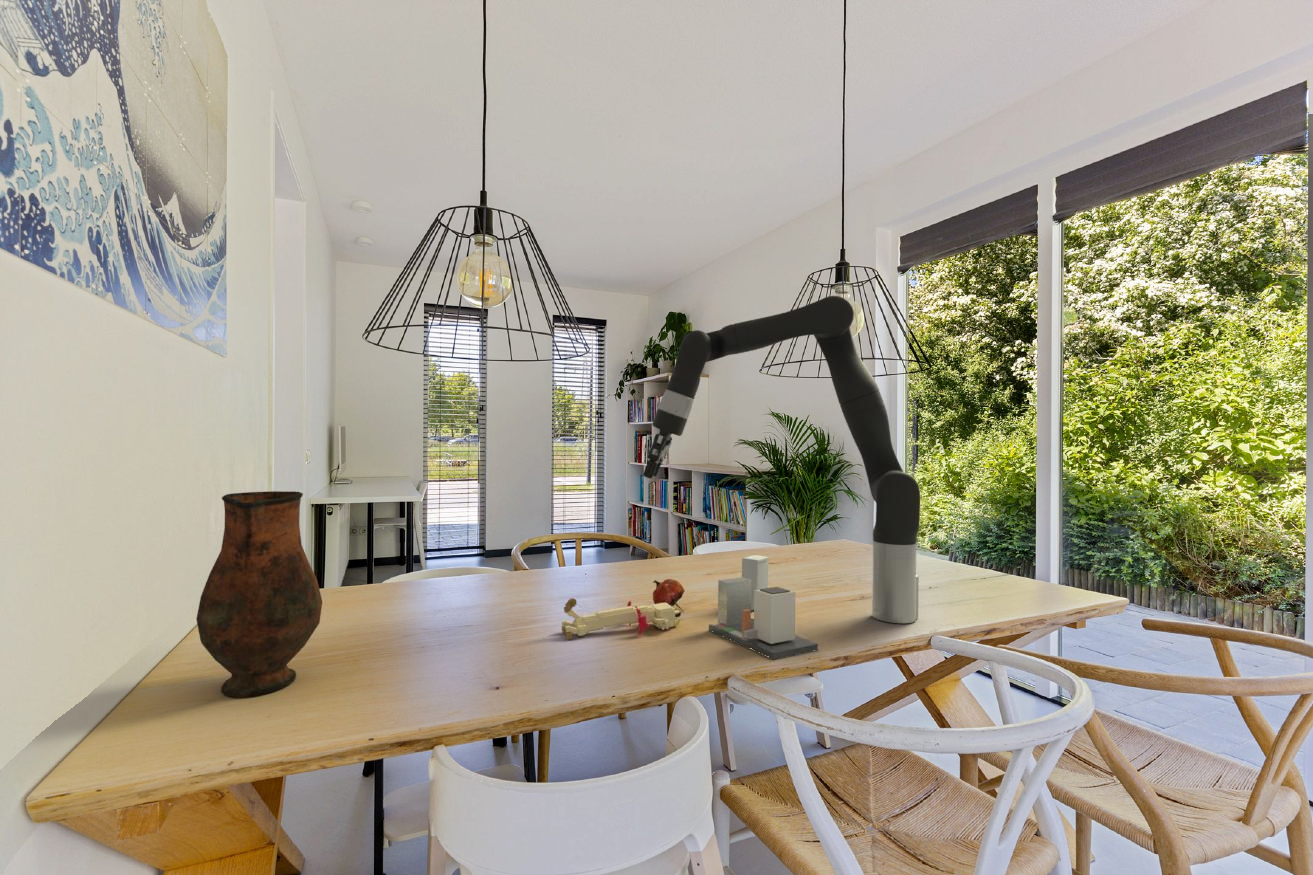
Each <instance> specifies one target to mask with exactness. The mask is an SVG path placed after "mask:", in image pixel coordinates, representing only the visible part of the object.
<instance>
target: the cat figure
mask: <svg viewBox="0 0 1313 875" xmlns="http://www.w3.org/2000/svg"><path fill="white" fill-rule="evenodd" d="M564 604H565V606H564V607H563V613H565V614H566V615H568V616H569V617H572V618H573V620H572V621H573V622H571V621H568V620H562V621H561V632H562V634H563V635H565V638H566V640H567V639H571V640H572V639H573V635H577V636H579V637H581V636H585V635H587V634H590V632H595V631H600V630H601V631H603V630H604V628H611V627H614V626H620V625H627V624H628V626H629V625H630V626H632V625H635V624H638V628H639V629H638V633H639V634H638V635H642V633H644V630H645V629H648V628H649V623H652V624H653V625H655V627H656V628H658V629H659V630H660V629H661V630H662V631H663V630H665V629H666V630H669V628H672V627H674V626H677V625H680V622H681V621H684V620H683V619H684V618H682V617H681V616H682V615H681V614H682V613H681V612H682V611H679V610H677V609H676V608H675V607H674V606H670V605H669V604H667V603H659V604H655V603H653V604H651V605H646V604H644V605H637V606H632V601H631V600H629V601H628V602H627V605H626V606H623V607H618V608H612V609H611V608H610V609H606V610H605V609H604V610H599V611H596V612H595V613H588V614H584V615H581V614H578V613H577V612H576V611H574V609H573V608H574V607H576V605H578V604H577V599H575V597H571V598H569V600H567V602H566V603H564Z"/></svg>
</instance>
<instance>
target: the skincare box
mask: <svg viewBox="0 0 1313 875" xmlns="http://www.w3.org/2000/svg"><path fill="white" fill-rule="evenodd" d="M769 558H770V557H769V556H764V555H757V554H756V555H755V554H754V555H750V556H749V555H748V556H746V557H742V559H741V577H743V578H746V579H750V580H751V611H753V610H754V590H759V589H765V588H769V571H770V569H769V568H770V566H769V564H770V563H769V562H770V560H769Z"/></svg>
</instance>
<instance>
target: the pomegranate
mask: <svg viewBox="0 0 1313 875" xmlns="http://www.w3.org/2000/svg"><path fill="white" fill-rule="evenodd" d="M652 583H655V585H656V586H655V589H654V590H653V591H652V602H653V604H659V603H667V604H669V605H670V606H672V607H674V606H676V607H677V608H679V610H680V611H681V612H682V613H684V610H683V608H682V607H681V606H680V605H678V603H677V602H679V600H680V599H682V597H683V594H684V593H685V589H684V587H683V585H682V583H681V582H679V580H675V579H672V578H668V579H663V581H662V582H660V581H657V580H654V581H652Z"/></svg>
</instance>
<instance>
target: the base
mask: <svg viewBox="0 0 1313 875" xmlns="http://www.w3.org/2000/svg"><path fill="white" fill-rule="evenodd" d="M717 586H718V587H717V588H718V589H717V591H718V592H717V623H711V624H708V631H709V630H710V631H709V632H711V631H713V632H714V633H713V632H712V633H713V634H715V633H717V634H718V636H720V635H721V636H720V637H722V636H724V637H725V638H724V637H723V638H724V639H726V638H728V639H731V640H732V641H731V640H730V641H731V642H733V641H735V642H737V643H739V644H742V645H744V646H746V647H748V648H752V649H753V650H755V651H757V652H760V653H762V654H763V655H762V654H761V655H762V656H764V655H766V656H769V657H770V658H772V659H771V660H773V659H775V660H777V659H776V658H779V659H783V658H782V657H784V658H787V657H786V656H789V657H792V656H791V655H793V656H797V655H796V654H798V655H800V654H799V653H803V654H806V653H805V652H808V653H811V652H810V651H812V652H814V651H813V650H817V651H819V646H818V645H819V644H818V643H816V642H814V641H811V640H809V639H806V638H803V637H801V636H798V635H796V634H795V639H794V640H788V641H783V642H778V643H773V644H770V643H768V642H765V641H763V640H761V639H758V638H756V637H752V638H745V637H743V636H742V610H747V609H749V610H751V580H750V579H746V578H743V577H742V576H741V577H734V578H726V579H718V585H717ZM751 611H752V610H751ZM751 629H754V618H752V617H751ZM717 634H716V635H717ZM728 639H727V640H728ZM735 642H734V643H735ZM737 643H736V644H737ZM739 644H738V645H739ZM742 645H741V646H742ZM744 646H743V647H744ZM746 647H745V648H746ZM748 648H747V649H748ZM753 650H752V651H753ZM755 651H754V652H755ZM757 652H756V653H757ZM766 656H765V657H766ZM770 658H769V659H770Z"/></svg>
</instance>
